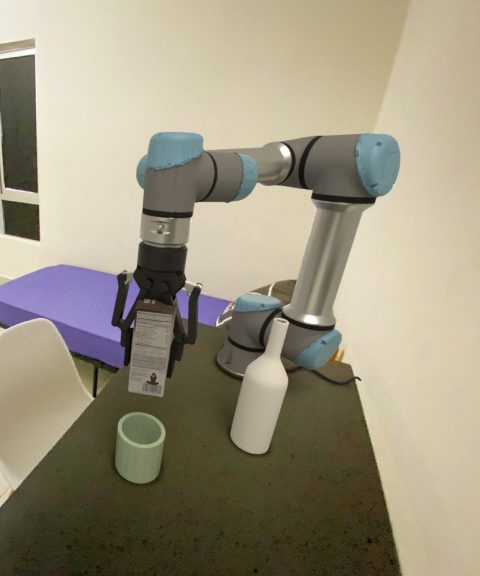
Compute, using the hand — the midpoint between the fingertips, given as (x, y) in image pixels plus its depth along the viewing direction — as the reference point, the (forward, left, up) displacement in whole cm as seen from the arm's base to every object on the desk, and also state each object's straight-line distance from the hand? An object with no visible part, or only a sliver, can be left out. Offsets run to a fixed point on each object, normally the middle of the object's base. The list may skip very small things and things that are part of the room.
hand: (148, 367), depth 60 cm
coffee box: (0, 0, -3) cm, 3 cm away
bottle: (-21, -17, -23) cm, 36 cm away
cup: (0, 0, -23) cm, 23 cm away
